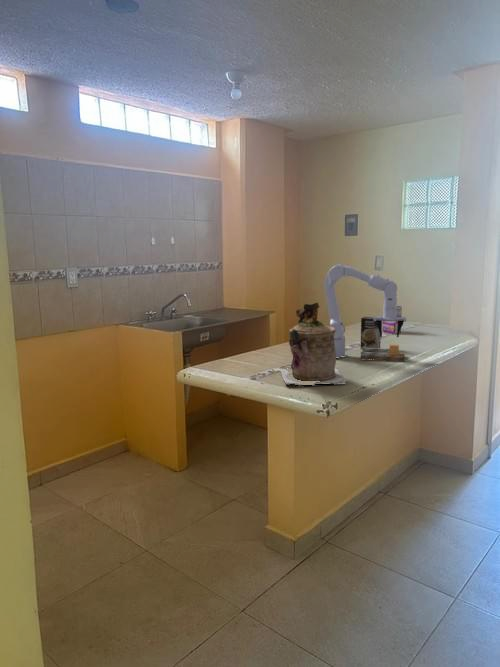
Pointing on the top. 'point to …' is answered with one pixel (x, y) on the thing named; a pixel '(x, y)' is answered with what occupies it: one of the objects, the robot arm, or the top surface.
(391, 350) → the block
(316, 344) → the cookie jar
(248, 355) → the top surface
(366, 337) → the coffee box
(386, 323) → the candy bar box
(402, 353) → the trap channel
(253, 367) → the top surface
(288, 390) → the top surface
